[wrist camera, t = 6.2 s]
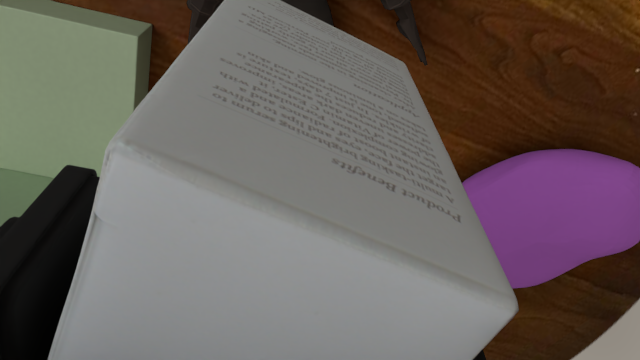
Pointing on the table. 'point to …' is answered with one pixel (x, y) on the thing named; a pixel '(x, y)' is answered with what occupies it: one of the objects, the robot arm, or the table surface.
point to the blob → (556, 211)
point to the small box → (281, 211)
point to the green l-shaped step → (63, 91)
